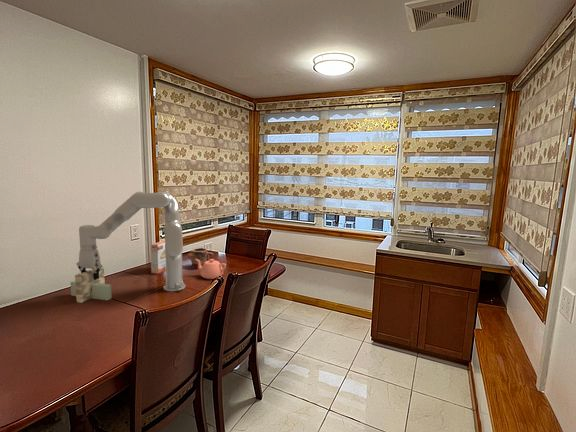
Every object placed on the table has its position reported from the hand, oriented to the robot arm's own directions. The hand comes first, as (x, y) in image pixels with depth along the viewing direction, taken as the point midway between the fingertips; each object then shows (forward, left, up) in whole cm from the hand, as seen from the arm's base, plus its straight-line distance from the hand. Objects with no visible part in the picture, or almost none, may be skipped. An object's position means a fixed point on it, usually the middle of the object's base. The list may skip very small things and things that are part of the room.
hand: (90, 278), depth 168 cm
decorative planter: (-6, -74, -11) cm, 75 cm away
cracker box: (+10, -51, -11) cm, 53 cm away
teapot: (-27, -64, -11) cm, 70 cm away
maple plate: (0, 0, -11) cm, 11 cm away
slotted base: (0, 0, -11) cm, 11 cm away
